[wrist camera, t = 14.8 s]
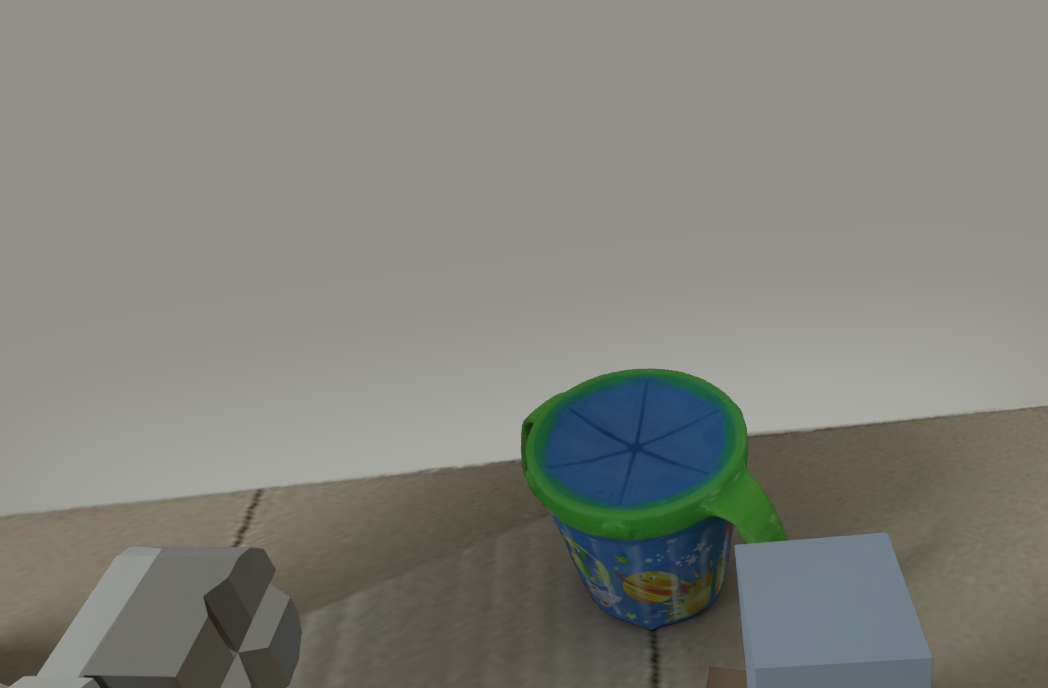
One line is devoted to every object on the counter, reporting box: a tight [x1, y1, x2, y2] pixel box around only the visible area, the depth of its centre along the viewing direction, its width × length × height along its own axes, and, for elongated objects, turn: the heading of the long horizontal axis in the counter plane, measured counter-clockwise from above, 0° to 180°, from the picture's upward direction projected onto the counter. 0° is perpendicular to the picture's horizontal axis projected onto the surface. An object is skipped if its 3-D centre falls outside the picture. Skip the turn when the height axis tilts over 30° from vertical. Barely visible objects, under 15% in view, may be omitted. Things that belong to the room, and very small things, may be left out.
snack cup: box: [521, 369, 788, 630], centre depth 46 cm, size 16×10×10 cm
